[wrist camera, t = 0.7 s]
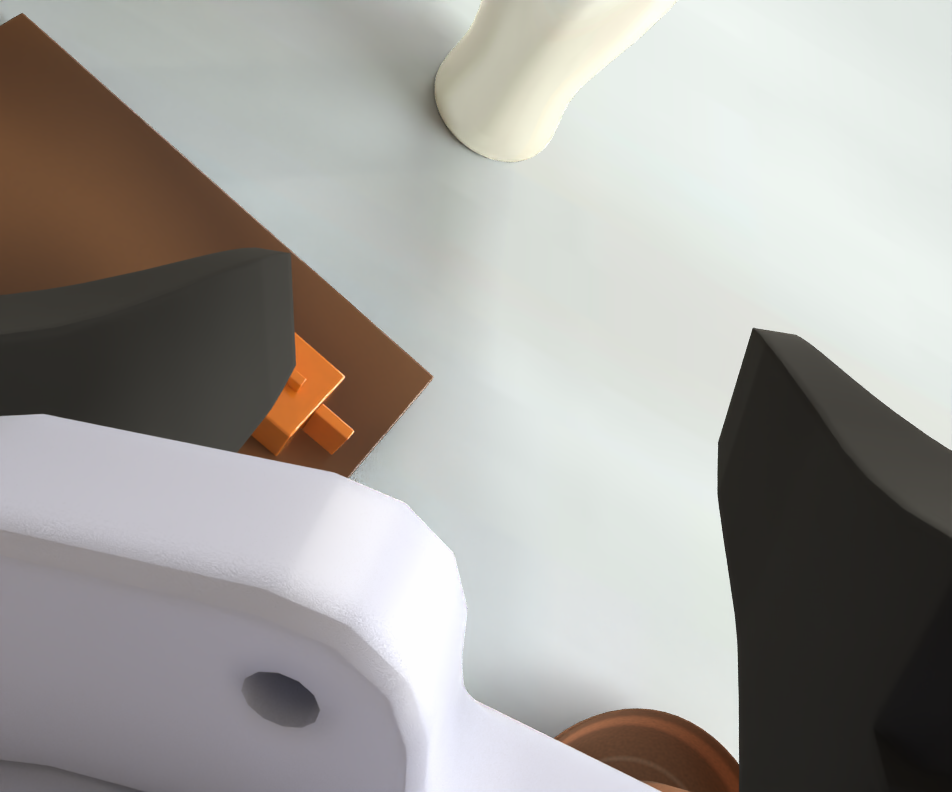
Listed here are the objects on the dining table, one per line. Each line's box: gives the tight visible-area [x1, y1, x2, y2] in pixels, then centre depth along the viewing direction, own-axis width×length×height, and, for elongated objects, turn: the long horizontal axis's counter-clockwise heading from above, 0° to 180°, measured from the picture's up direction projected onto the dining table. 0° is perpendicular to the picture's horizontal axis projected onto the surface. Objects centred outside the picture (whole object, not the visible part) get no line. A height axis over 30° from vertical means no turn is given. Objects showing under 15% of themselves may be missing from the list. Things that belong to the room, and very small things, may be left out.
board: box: [0, 13, 433, 478], centre depth 25 cm, size 20×20×1 cm
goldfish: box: [252, 333, 354, 456], centre depth 26 cm, size 6×3×4 cm, turn 53°
